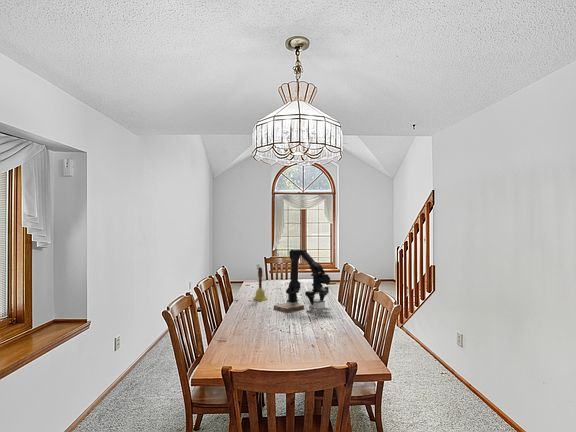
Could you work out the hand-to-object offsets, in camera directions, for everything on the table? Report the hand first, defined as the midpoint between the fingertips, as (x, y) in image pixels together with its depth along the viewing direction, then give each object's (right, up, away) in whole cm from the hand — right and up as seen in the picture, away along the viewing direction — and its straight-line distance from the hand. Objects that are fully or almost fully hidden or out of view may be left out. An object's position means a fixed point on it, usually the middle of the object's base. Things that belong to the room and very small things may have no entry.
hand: (317, 304), depth 280 cm
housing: (0, -2, 0) cm, 2 cm away
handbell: (-43, -2, +26) cm, 50 cm away
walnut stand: (-20, -2, -6) cm, 21 cm away
